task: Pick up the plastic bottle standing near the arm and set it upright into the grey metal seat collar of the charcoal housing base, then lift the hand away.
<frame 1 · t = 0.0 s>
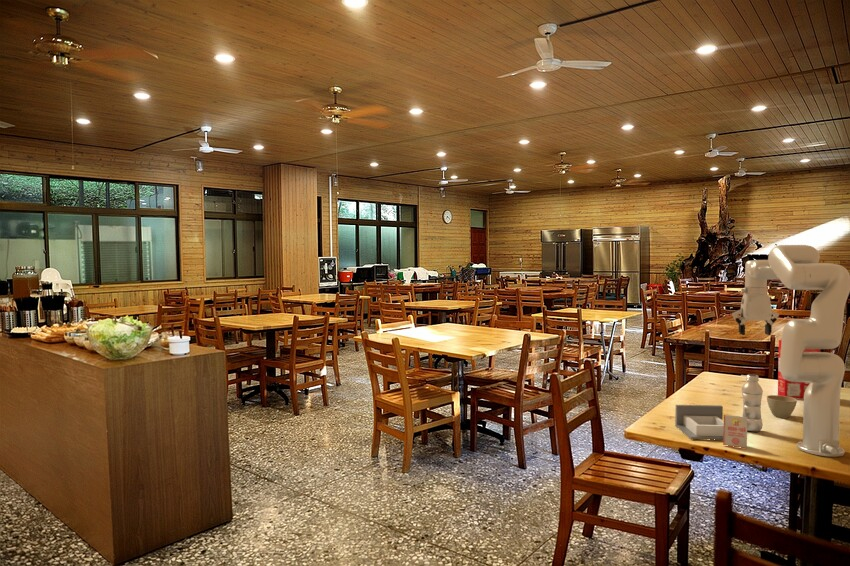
hand: (754, 334, 227), 31 cm above the table, tool pointing down, fingers open, 9 cm apart
housing: (706, 433, 202), on the table
food packaging: (798, 397, 252), on the table
beige printed carton: (734, 446, 189), on the table
flower pot: (781, 416, 223), on the table
plastic bottle: (751, 431, 205), on the table
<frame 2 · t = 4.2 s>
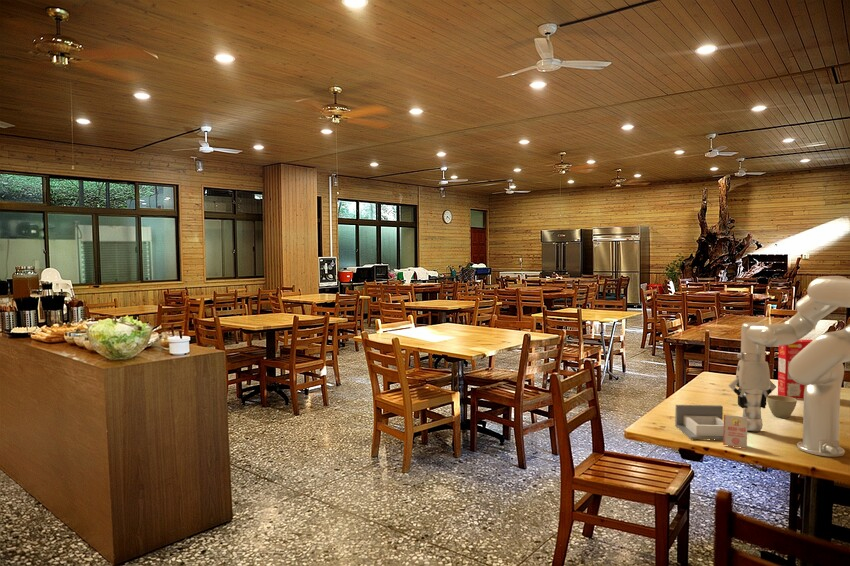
hand: (751, 406, 204), 9 cm above the table, tool pointing down, fingers closed on plastic bottle, 6 cm apart
plastic bottle: (751, 431, 205), on the table, touching gripper
everything else where it was.
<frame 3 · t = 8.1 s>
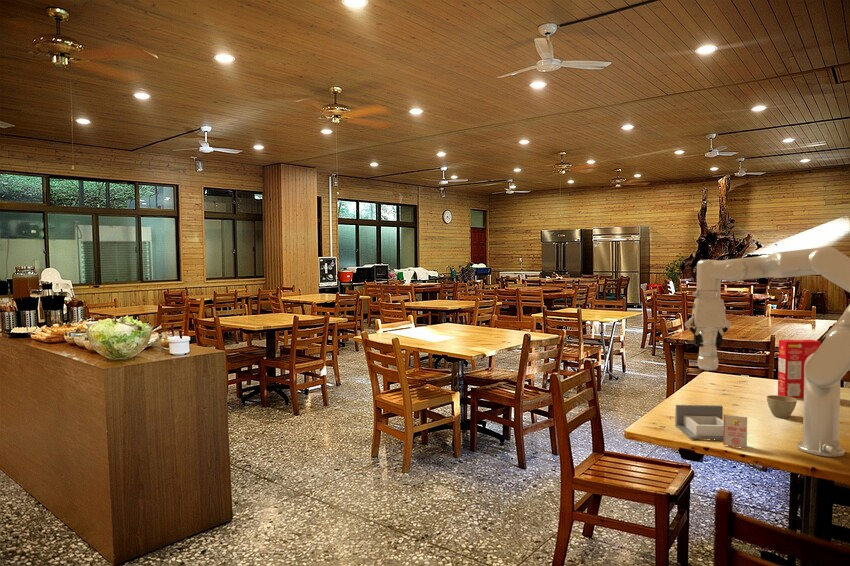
hand: (707, 345, 201), 31 cm above the table, tool pointing down, fingers closed on plastic bottle, 6 cm apart
plastic bottle: (707, 370, 201), point 22 cm above the table, touching gripper
everything else where it was.
when the fingers open (11 cm above the table, at t = 12.2 s): plastic bottle drops 2 cm, resting on housing.
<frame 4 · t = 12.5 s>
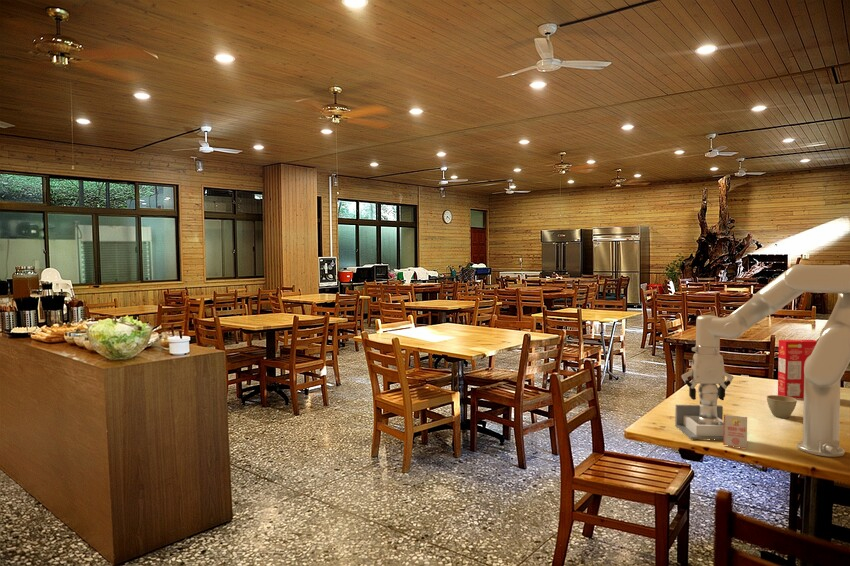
hand: (706, 399, 202), 12 cm above the table, tool pointing down, fingers open, 9 cm apart
plastic bottle: (707, 431, 202), point 1 cm above the table, touching housing
everything else where it was.
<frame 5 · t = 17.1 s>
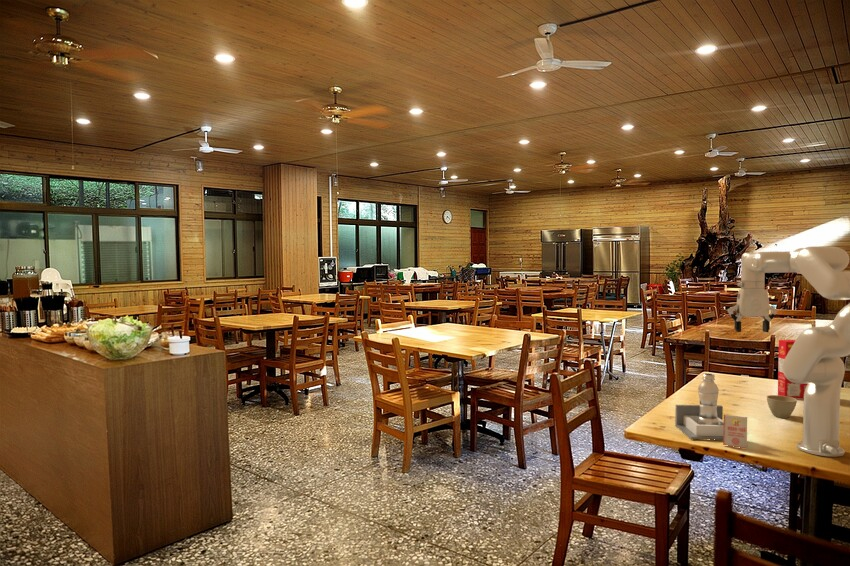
hand: (751, 331, 213), 34 cm above the table, tool pointing down, fingers open, 9 cm apart
nothing on the table moved.
at the end: plastic bottle 0.5 cm off-centre on the housing, point 0.8 cm above the housing's base; plastic bottle tilted 0°; the gripper is holding nothing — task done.
